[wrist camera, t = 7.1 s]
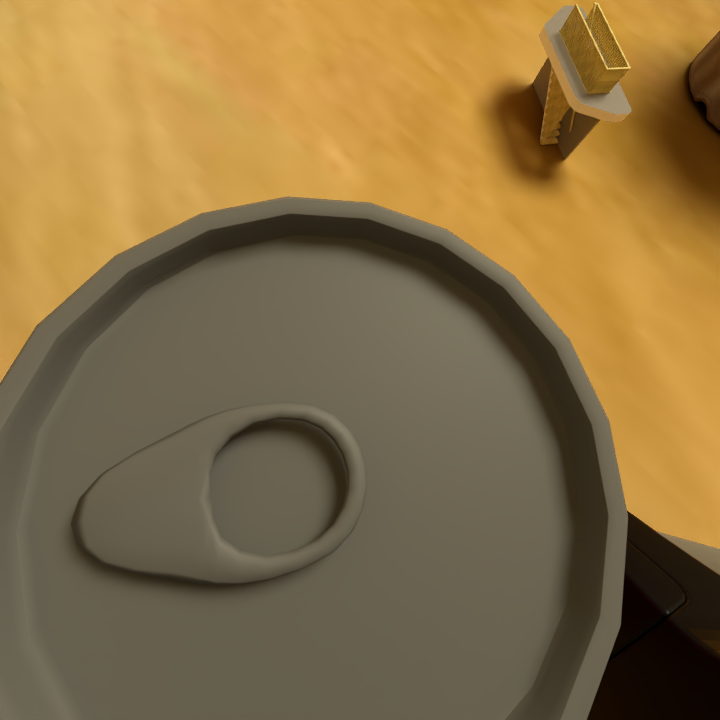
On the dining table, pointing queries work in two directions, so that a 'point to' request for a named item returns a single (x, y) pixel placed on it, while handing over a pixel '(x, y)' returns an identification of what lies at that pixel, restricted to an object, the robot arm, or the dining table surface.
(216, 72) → the dining table surface
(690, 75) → the plant pot
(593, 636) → the beer can
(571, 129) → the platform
